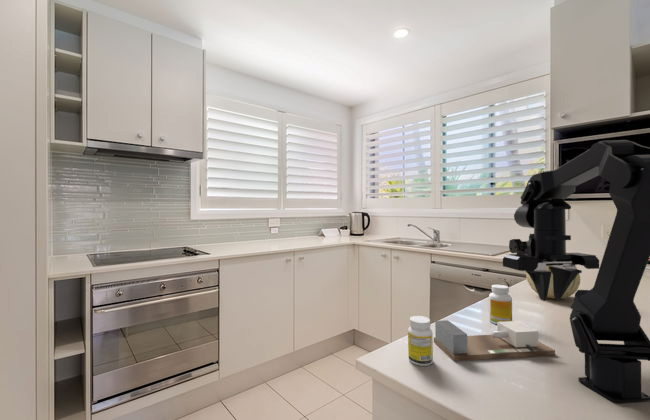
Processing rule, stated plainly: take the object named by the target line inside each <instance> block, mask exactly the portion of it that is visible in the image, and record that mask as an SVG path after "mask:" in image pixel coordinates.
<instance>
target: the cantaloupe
mask: <svg viewBox="0 0 650 420" xmlns="http://www.w3.org/2000/svg"><path fill="white" fill-rule="evenodd" d="M549 266H553V265H549ZM576 269H577V270H579V269H578V268H577V267H576ZM546 271H550V272H551V270H550V269H549V267H548V266H546ZM580 274H581V273H579V274H578V275H577V276H576V277H575V279H574V280H573V281H572V282H571V284H570V285H569V287H568V288H567V290H566V291H565V293H564V295H563V296H562V298H561V299H566V298H569V297H571V296H572V295H575V293H576V292H577V291H578V290H579V286H580V284H581V275H580ZM525 275H526V281H527V283H528V286H529V287H530V288H531V289H532V291H534V292H535V293H536V294H538V292H537V290H536V287H535V285H534V283H533V281H532V279H531V277H530V275H529V274H528V273H527V272H526V271H525ZM546 299H554V300H556V299H555V298H554V291H553V274H552V272H551V278H550V284H549V289H548V295H547V298H546ZM561 299H560V300H561Z"/></svg>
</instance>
